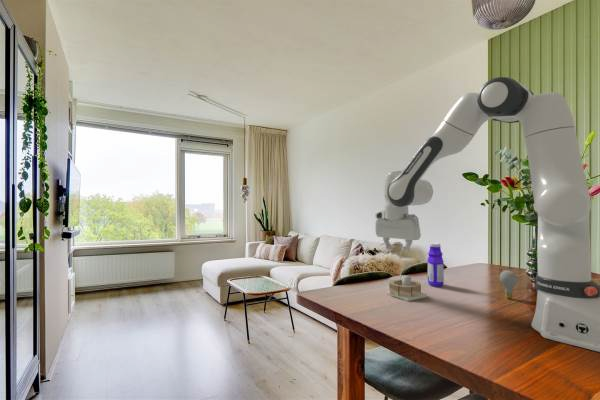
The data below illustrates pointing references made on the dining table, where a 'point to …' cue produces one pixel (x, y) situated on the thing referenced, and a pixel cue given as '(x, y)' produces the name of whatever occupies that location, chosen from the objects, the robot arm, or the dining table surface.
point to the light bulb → (508, 282)
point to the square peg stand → (407, 282)
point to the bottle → (435, 265)
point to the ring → (405, 288)
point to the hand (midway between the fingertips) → (397, 250)
